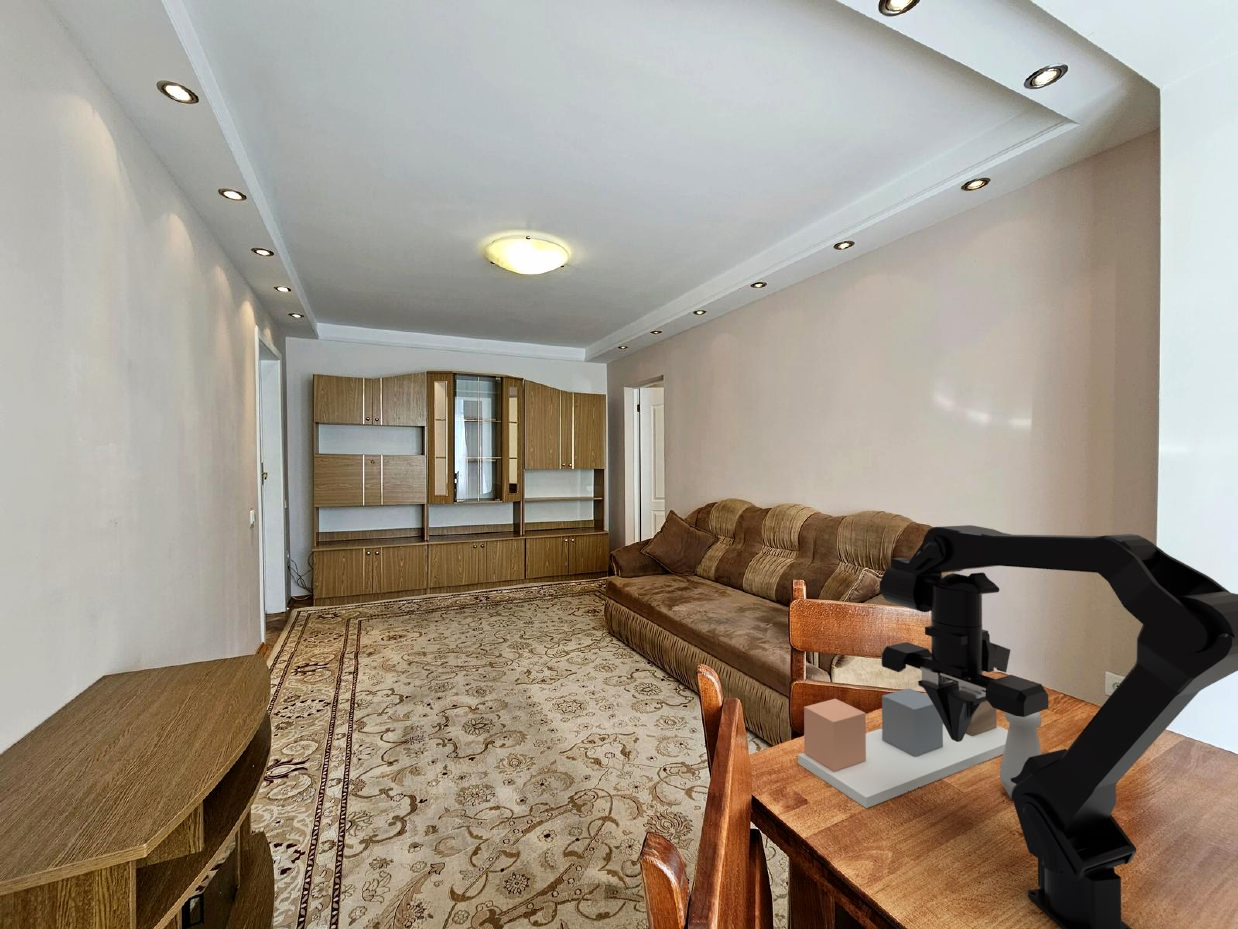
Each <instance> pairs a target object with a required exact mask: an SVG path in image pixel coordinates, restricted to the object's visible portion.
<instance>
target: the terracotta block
mask: <svg viewBox="0 0 1238 929" xmlns="http://www.w3.org/2000/svg"><path fill="white" fill-rule="evenodd" d="M803 715H804V716H803V718H804V719H803V722H804V723H803V724H804V725H803V727H804V728H803V729H804V730H803V734H804V735H803V736H804V737H803V738H804V742H803V743H804V747H803V748H804V749H803V750H804V752H803V753H805V754H806V755H808V756H810V757H811V758H813V759H814V760H816V761H818V762H819V763H821V764H822V765H824V766H826V767H827V768H829V769H830V770H832V771H837V770H840V769H843V768H846V767H849V766H852V765H855V764H857V763H860V762H863V761H866V733H867V732H866V729H867V728H866V726H867V724H866V721H867V720H866V718H867V717H866V716H867V715H866V712H864V711H862V710H860V709H858V708H856V707H854V706H851V704H848V703H845V702H844V701H841V700H839V699H837V698H831V699H830V700H829V699H828V700H824V701H821V702H818V703H817V702H816V703H814V704H813V703H812V704H810V705H806V706H804V707H803Z"/></svg>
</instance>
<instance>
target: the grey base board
mask: <svg viewBox="0 0 1238 929" xmlns="http://www.w3.org/2000/svg"><path fill="white" fill-rule="evenodd" d="M1007 734H1008V729H1006V728H1004V727H1002V726H999V725H997V727H996V728H994V729H991V730H988V731H985V732H982V733H980V734H977V735H974V736H971V735H969V734H966V733H965V735H964V737H963V740H962V741H960V742H956V741H954V740H952V739H951V737H950V735H949V733H948V731H947V729H946V727H945V725H944V724H943V747H941V748H938V749H935V750H932V751H929V752H927V753H924V754H921V755H918V756H913V755H911V754H909V753H907V752H905V751H903V750H901V749H899V748H897V747H895V746H893V745H891V744H889V743H887V742H885V741H883V740H882V728H879V729H875V730H873V731H869V732H866V761H863V762H860V763H857V764H855V765H852V766H849V767H846V768H843V769H840V770H837V771H832V770H830V769H829V768H827V767H826V766H824V765H822V764H821V763H819V762H818V761H816V760H814V759H813V758H811V757H810V756H808V755H806V754H805V753H804V752H801V753H799V754H798V756H797V758H798V759H797V760H798V764H799V765H800V766H801V767H803V768H804V769H806V770H807V771H809V772H811V773H812V774H813V775H815V776H816V777H818V778H819V779H821V780H823V781H824V782H825V783H827V784H828V785H830V786H832V787H833V788H834V789H837V790H838V791H839V792H841V793H842V794H844V795H845V796H846V797H848V798H850V799H851V800H853V801H854V802H856V803H857V804H859V805H861V806H862V807H863V808H865V809H868V808H871V807H873V806H876V805H879V804H882V803H883V802H886V801H888V800H891V799H894V798H897V797H899V796H902V795H904V794H907V793H909V792H911V791H913V790H916V789H918V787H919V788H922V787H924V786H926V785H929V784H931V783H934V782H936V781H939V780H942V779H944V778H946V777H949V776H952V775H955V774H956V773H957V774H958V773H959V772H961V771H964V770H966V769H969V768H971V767H974V766H976V765H980V764H982V763H984V762H987V761H989V760H991V759H994V758H997V757H999V756H1001V755H1002V756H1003V754H1004V749H1005V744H1006V739H1007ZM908 791H909V792H908Z"/></svg>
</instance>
